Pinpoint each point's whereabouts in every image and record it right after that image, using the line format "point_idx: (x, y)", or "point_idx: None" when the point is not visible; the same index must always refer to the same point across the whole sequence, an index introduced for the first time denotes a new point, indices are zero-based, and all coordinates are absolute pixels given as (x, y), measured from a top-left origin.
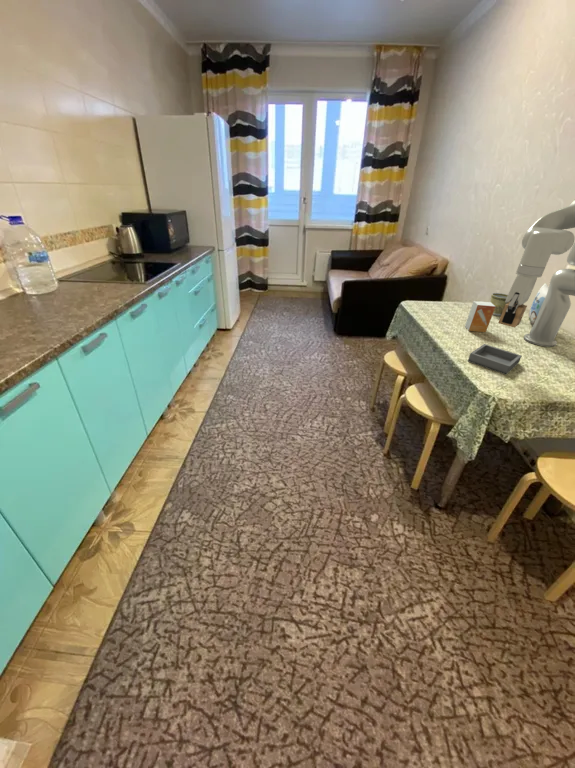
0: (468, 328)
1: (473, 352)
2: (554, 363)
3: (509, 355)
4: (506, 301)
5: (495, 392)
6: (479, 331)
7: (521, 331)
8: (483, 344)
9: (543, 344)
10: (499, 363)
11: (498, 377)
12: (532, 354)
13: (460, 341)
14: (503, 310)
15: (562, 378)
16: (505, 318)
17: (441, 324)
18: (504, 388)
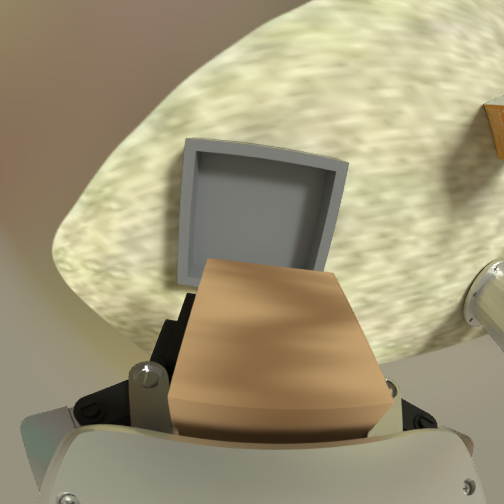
0: (491, 102)
1: (203, 145)
2: (370, 346)
3: (312, 262)
4: (63, 439)
5: (67, 263)
6: (494, 139)
7: None
8: (339, 160)
9: (466, 308)
10: (178, 252)
11: (147, 253)
12: (406, 299)
13: (382, 74)
14: (184, 339)
15: None
16: (161, 330)
17: (471, 22)
18: (101, 277)
